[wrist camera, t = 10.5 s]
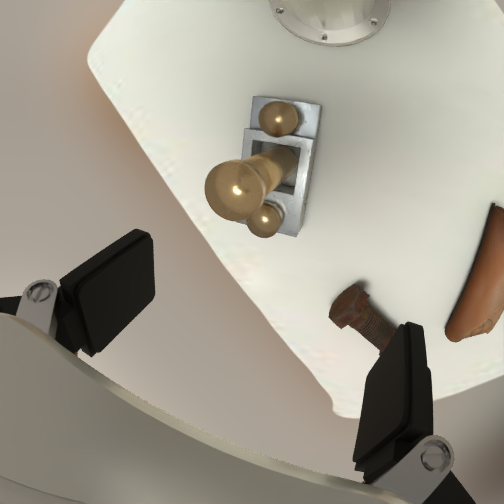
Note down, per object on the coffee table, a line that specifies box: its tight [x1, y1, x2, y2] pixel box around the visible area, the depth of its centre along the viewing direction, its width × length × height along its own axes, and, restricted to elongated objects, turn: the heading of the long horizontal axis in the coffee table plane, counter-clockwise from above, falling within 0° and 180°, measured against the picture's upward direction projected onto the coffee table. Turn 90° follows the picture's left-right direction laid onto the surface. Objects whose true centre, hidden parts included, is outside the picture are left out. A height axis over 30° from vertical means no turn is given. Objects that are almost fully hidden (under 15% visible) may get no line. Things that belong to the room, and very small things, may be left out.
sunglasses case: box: [445, 203, 504, 342], centre depth 27 cm, size 18×7×7 cm
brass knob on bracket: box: [236, 96, 322, 238], centre depth 30 cm, size 14×7×4 cm, turn 174°
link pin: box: [205, 146, 297, 221], centre depth 26 cm, size 4×4×13 cm
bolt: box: [329, 285, 396, 355], centre depth 34 cm, size 6×5×15 cm
